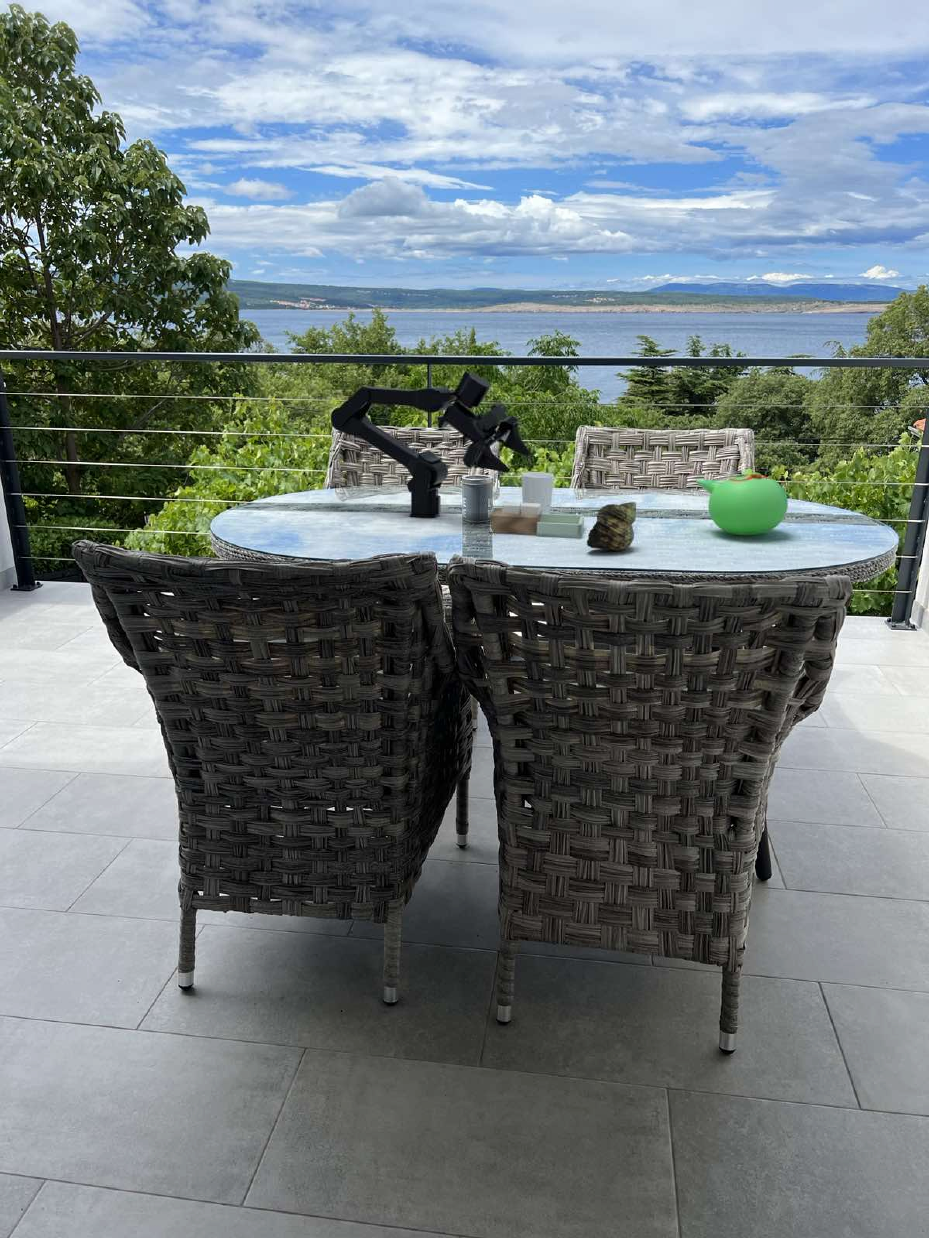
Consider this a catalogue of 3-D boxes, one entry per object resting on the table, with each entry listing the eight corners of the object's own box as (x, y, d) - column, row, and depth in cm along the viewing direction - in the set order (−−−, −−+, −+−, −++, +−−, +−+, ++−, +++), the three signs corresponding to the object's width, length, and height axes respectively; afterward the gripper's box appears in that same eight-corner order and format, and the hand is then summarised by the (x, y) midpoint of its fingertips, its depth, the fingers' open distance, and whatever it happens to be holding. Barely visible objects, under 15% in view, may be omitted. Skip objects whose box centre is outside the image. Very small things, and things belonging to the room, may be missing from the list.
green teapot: (738, 545, 217) (745, 478, 213) (688, 530, 231) (693, 467, 227) (799, 537, 225) (806, 473, 221) (747, 523, 239) (753, 463, 235)
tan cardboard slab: (489, 532, 226) (489, 515, 225) (494, 524, 235) (494, 508, 234) (537, 535, 225) (537, 517, 223) (540, 526, 233) (541, 510, 232)
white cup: (550, 518, 243) (551, 477, 240) (518, 516, 244) (519, 476, 241) (554, 512, 250) (555, 472, 247) (523, 510, 252) (524, 471, 249)
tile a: (501, 513, 227) (502, 505, 226) (504, 510, 231) (504, 502, 230) (519, 514, 226) (519, 506, 226) (521, 511, 230) (521, 502, 230)
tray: (536, 536, 224) (537, 522, 223) (541, 526, 234) (541, 513, 233) (581, 538, 222) (581, 525, 221) (583, 527, 232) (584, 515, 232)
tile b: (521, 514, 226) (521, 506, 226) (523, 511, 230) (523, 502, 230) (538, 515, 226) (539, 506, 225) (540, 512, 230) (540, 503, 229)
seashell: (577, 544, 217) (580, 498, 214) (629, 543, 218) (631, 498, 215) (587, 555, 207) (590, 508, 204) (641, 555, 208) (644, 508, 205)
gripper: (457, 413, 222) (511, 454, 219) (500, 383, 234) (552, 422, 232) (441, 448, 230) (493, 489, 227) (484, 418, 242) (534, 456, 240)
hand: (519, 463), depth 231 cm, fingers open, 9 cm apart
